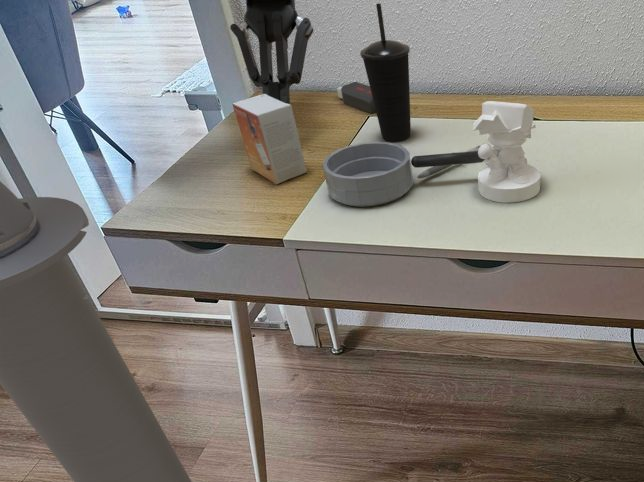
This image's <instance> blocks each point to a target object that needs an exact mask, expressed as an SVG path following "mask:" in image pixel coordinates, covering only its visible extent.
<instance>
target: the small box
mask: <svg viewBox="0 0 644 482" xmlns="http://www.w3.org/2000/svg"><path fill="white" fill-rule="evenodd" d="M232 107H233V111H234V114H235V118H236V122H237V125H238V128H239V132H240V136H241V139H242V141H243V145H244V148H245V152H246V155H247V159H248V163H249V165H250V169H251V171H254V172H256V173H257V174H259V175H261V176H263V177H264V178H266V179H267V180H269V181H270V182H272V183H273V184H274V185H278V184H282V183H283V182H286V181H288V180H291V179H293V178H294V179H295V178H296V177H298V176H301V175H304V174H307V172H308V170H307V166H306V162H305V158H304V157H305V156H304V154H303V150H302V145H301V141H300V136H299V132H298V128H297V123H296V119H295V115H294V111H293V106H292V104H291V103H290V104H286V103H284V102H282V101H279V100H277V99H275V98H273V97H270V96H268V95H267V94H263V93H262V94H259V95H255V96H252V97H249V98H246V99H245V98H244V99H241V100H239V101H238V100H237V101H235V102H233V103H232Z"/></svg>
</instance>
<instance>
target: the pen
mask: <svg viewBox="0 0 644 482" xmlns="http://www.w3.org/2000/svg"><path fill="white" fill-rule="evenodd" d="M481 145H482V144H480V145H478V146H475V147H473V148H470V149H469V150H467V151H465V152H471V151H478V149H479V147H480V146H481ZM452 166H453V165H444V166H432V167H428V168H427V169H425V170H423V171H422V172H420V173H419V174H418V175H417V177H416V179H419V180H421V179H425V178H428V177H431V176H433V175H435V174H438V173H440V172H441V171H443V170H445V169H447V168H450V167H452Z"/></svg>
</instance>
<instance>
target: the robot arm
mask: <svg viewBox="0 0 644 482" xmlns="http://www.w3.org/2000/svg"><path fill="white" fill-rule="evenodd" d="M245 4H246V10H245V13H244V15H243V20H242V21H241V22H240V23H238V24H237V23H232V24H230V26H229V28H230V29H229V30H230V31H231V32H232V34H233V35H234V36H235V38H236V40H237V42H238V45H239V47H240V48H239V49H240V51H241V54H242V57H243V61H244V64H245V67H246V70H247V74H248V77H249V79H250V81H252V83H253V84H254V85H255V87H256V88H261V89H262V94H267V95H268V96H270V97H273V98H275V99H277V100H279V101H282V102H284V103H286V104H290V105H291V97H290V96H291V95H290V88H291V86H293V85H294V84H295V85H299V84H300V83H301V81H302V75H303V70H304V65H305V58H306V53H307V47H308V43H309V39H310V38H311V36H312V35H313V33H314V27H313V25H312V23H311V21H310V18H308V17H304V18H303V17H301V16H299V14H298V12H297V9H296V0H245ZM249 30H251V32H252V33H253V34H254V35H255V36H256V37H257V40H258V48H259V51H258V52H259V67H260V68H259V67H258V66H257V63H256V59H255V56H254V53H253V49H252V46H251V43H250V41H249V38H250V33H249ZM294 30H296V32H295V37H294V42H293V48H292V53H291V58H290V64H289V53H288V48H289V41H288V40H289V37H290V36H291V34H292V33H293V31H294ZM274 42H275V57H276V58H275V59H276V73H277V74H276V79H277V80H278V81H274V70H273V53H272V50H273V43H274ZM259 69H260V70H259ZM19 199H20V198H19V197H17V195H15V193H14V192H13V191H11V190H10V188H9V187H7V186H6V185H5V184H4V182H2V181H1V180H0V259H1V258H3V257H6V256H8V255H10V254H12V253H14V252H16V251H17V250H19V249H21V248H22V247H24V246H25V245H27V244H28V243H29V242H30V241H32V240H33V239H34V238H35V236H36V235H37V234H38V232H39V230H40V223H39V221H38V219H37V217H36V216H35V214H34V212H33V211H32V210H31V208H30V206H29V205H28V203H27V202H21V201H20V200H19Z"/></svg>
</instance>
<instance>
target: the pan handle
mask: <svg viewBox="0 0 644 482" xmlns="http://www.w3.org/2000/svg"><path fill="white" fill-rule="evenodd" d="M410 160H411V167H413V168H418V169H419V168H431V167H433V166H444V165H452V166H453V165H467V164H481V163H484V161H485V159H481V158H480V157H479V155H478V151H471V152H466V151H460V152H459V151H458V152H448V153H435V154H424V155H415V156H414V155H413V157H411V158H410Z"/></svg>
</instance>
